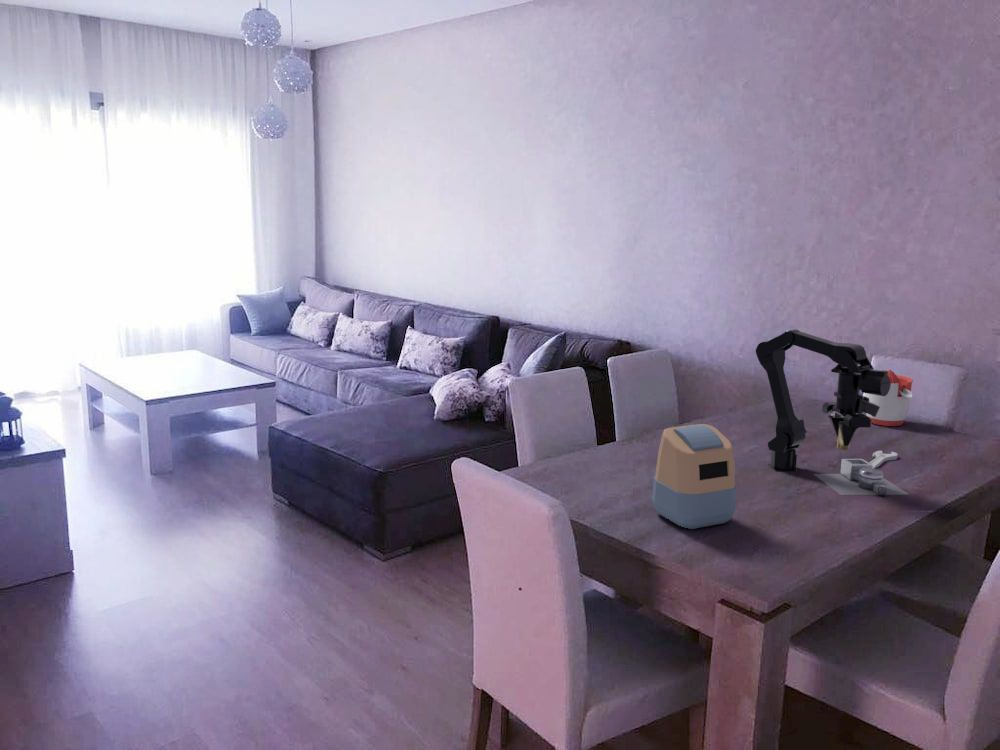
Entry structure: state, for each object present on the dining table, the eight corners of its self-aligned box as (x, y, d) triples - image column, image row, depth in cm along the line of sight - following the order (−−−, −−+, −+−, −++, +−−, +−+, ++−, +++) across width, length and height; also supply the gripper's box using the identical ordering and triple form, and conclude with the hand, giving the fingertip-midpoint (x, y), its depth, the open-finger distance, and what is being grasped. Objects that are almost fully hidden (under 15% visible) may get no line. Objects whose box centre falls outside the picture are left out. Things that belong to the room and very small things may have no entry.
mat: (840, 495, 220) (840, 494, 220) (813, 474, 237) (813, 474, 237) (909, 495, 220) (909, 494, 220) (876, 474, 238) (876, 473, 238)
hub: (864, 492, 223) (865, 474, 222) (853, 484, 229) (855, 467, 228) (885, 491, 223) (887, 474, 222) (875, 484, 229) (876, 467, 228)
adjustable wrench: (868, 476, 238) (869, 470, 238) (846, 471, 242) (847, 466, 242) (899, 458, 255) (900, 452, 255) (878, 454, 260) (879, 448, 259)
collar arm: (895, 495, 218) (896, 480, 217) (872, 495, 218) (874, 480, 217) (861, 472, 237) (862, 458, 236) (840, 472, 237) (841, 458, 236)
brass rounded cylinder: (839, 449, 225) (842, 423, 224) (835, 446, 228) (837, 421, 227) (851, 449, 225) (853, 423, 224) (846, 446, 228) (848, 421, 227)
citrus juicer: (889, 431, 285) (895, 376, 281) (852, 419, 301) (857, 367, 297) (922, 427, 291) (928, 373, 287) (884, 416, 307) (889, 364, 303)
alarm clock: (685, 535, 193) (689, 441, 188) (645, 512, 208) (649, 425, 203) (740, 524, 199) (746, 434, 194) (698, 503, 214) (703, 418, 210)
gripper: (893, 397, 214) (887, 453, 217) (861, 383, 233) (857, 435, 236) (852, 397, 214) (846, 453, 217) (823, 383, 233) (819, 435, 236)
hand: (843, 444), depth 227 cm, fingers closed on brass rounded cylinder, 3 cm apart
